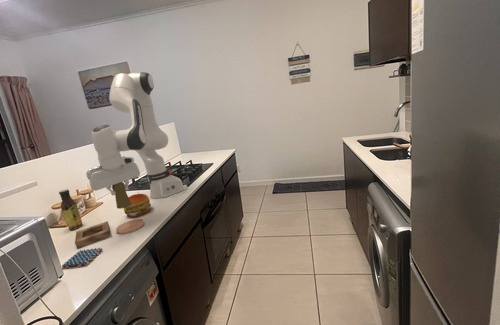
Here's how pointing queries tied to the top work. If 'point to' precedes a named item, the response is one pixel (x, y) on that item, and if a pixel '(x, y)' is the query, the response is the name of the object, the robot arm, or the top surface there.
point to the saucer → (130, 226)
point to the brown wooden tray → (92, 234)
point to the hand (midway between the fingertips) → (120, 192)
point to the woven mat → (82, 258)
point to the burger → (138, 205)
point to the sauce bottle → (70, 210)
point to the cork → (121, 195)
